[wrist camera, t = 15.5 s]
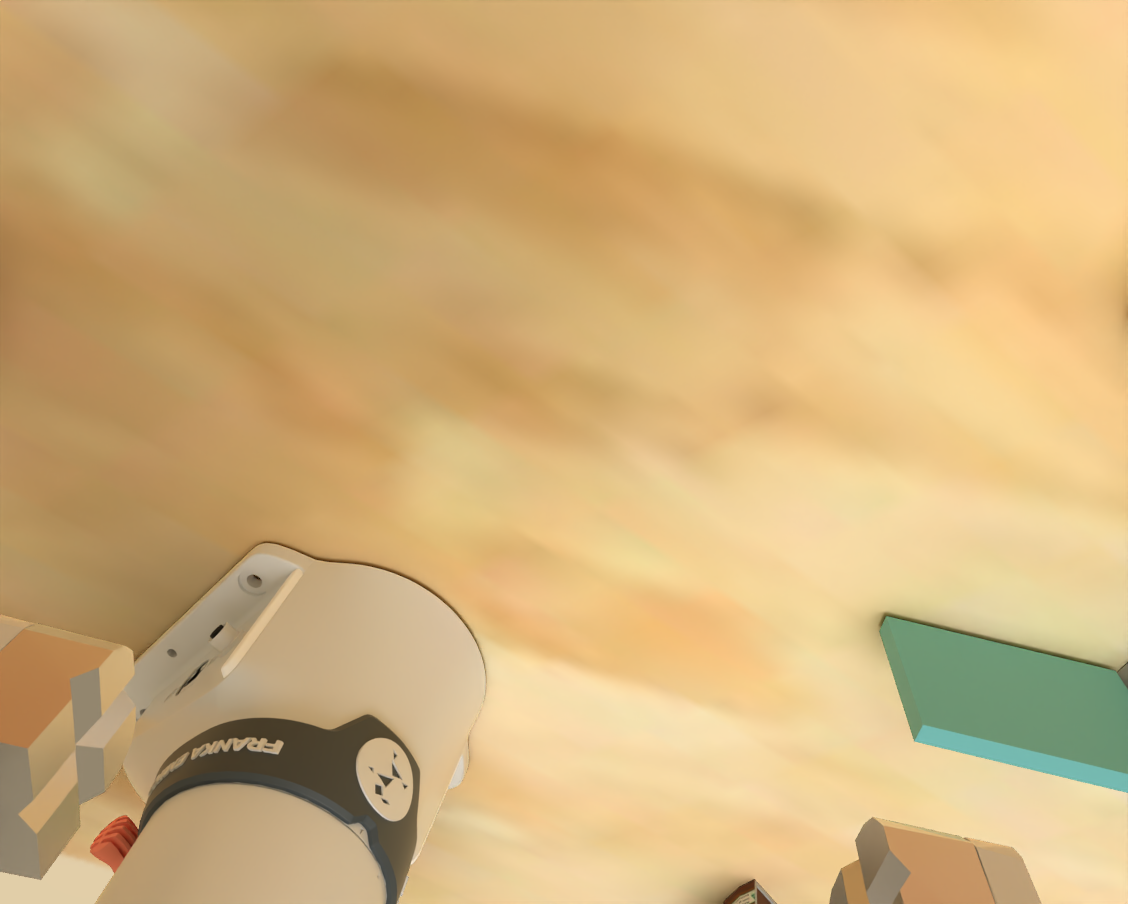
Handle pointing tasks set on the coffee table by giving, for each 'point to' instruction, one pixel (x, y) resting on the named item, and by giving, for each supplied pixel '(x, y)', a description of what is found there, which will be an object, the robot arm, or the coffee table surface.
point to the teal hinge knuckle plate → (1010, 703)
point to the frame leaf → (1124, 675)
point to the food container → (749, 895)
